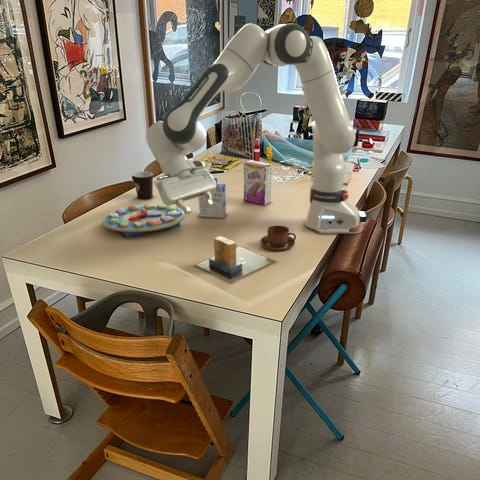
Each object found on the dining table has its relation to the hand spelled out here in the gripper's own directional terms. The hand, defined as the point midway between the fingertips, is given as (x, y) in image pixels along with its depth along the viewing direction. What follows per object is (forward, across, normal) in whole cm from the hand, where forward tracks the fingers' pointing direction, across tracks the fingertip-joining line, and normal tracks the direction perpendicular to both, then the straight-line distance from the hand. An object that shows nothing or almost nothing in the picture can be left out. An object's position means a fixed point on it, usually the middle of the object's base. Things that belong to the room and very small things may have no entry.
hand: (199, 209), depth 151 cm
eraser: (+20, -1, +2) cm, 20 cm away
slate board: (+20, +3, +2) cm, 21 cm away
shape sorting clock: (-14, +3, +38) cm, 40 cm away
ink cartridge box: (-6, +28, +29) cm, 41 cm away
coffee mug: (-33, +23, +58) cm, 70 cm away
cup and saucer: (+21, +24, +2) cm, 31 cm away
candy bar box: (-5, +53, +28) cm, 60 cm away
